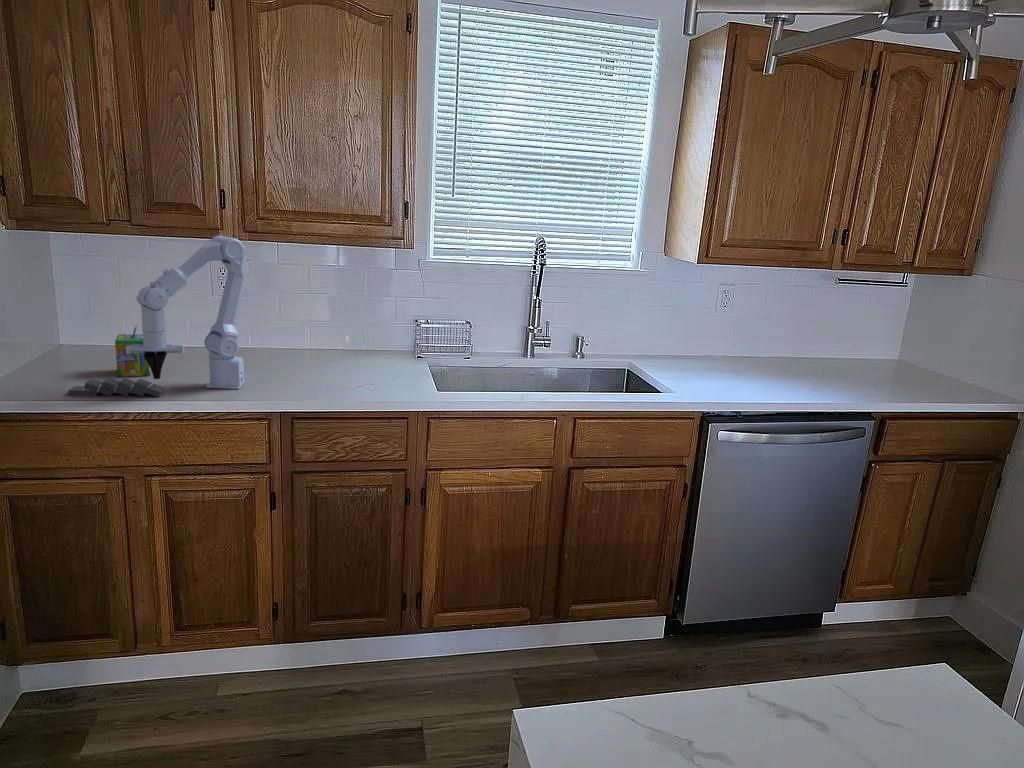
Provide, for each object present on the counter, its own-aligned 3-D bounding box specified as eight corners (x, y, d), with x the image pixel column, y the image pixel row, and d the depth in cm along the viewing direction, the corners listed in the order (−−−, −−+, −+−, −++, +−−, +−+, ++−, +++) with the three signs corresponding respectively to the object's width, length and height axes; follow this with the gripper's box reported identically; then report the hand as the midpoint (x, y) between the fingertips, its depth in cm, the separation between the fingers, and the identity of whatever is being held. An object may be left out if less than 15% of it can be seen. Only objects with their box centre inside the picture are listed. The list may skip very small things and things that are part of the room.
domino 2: (117, 386, 204) (90, 378, 202) (112, 390, 200) (85, 382, 198) (115, 391, 205) (89, 383, 203) (110, 396, 201) (83, 388, 198)
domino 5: (165, 388, 206) (140, 378, 205) (160, 392, 202) (135, 382, 200) (163, 393, 207) (138, 383, 205) (158, 397, 202) (133, 387, 201)
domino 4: (149, 387, 206) (124, 377, 204) (144, 391, 202) (119, 381, 200) (147, 392, 206) (122, 382, 204) (142, 396, 202) (117, 386, 200)
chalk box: (120, 369, 227) (117, 323, 223) (153, 369, 230) (150, 323, 226) (116, 377, 219) (112, 329, 215) (150, 376, 222) (147, 329, 218)
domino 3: (134, 387, 205) (109, 377, 203) (129, 391, 201) (103, 381, 199) (132, 392, 206) (106, 382, 204) (126, 396, 201) (101, 386, 199)
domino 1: (101, 386, 204) (75, 386, 203) (95, 390, 200) (68, 390, 198) (102, 392, 204) (75, 391, 203) (96, 396, 200) (68, 395, 199)
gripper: (184, 328, 205) (187, 374, 209) (128, 327, 201) (131, 374, 205) (181, 333, 199) (183, 380, 202) (122, 332, 195) (126, 381, 198)
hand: (157, 378), depth 203 cm, fingers closed
